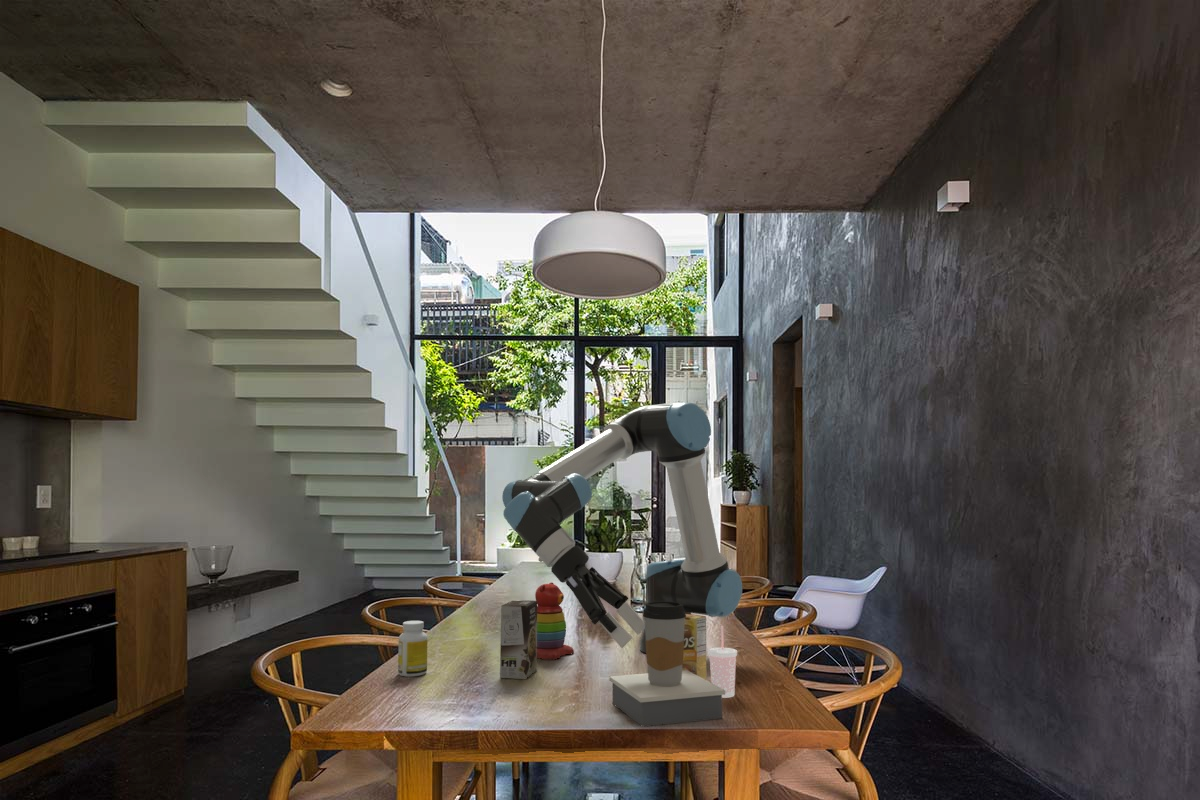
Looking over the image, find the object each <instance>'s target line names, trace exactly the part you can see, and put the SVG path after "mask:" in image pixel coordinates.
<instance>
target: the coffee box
mask: <svg viewBox="0 0 1200 800" xmlns="http://www.w3.org/2000/svg"><path fill="white" fill-rule="evenodd" d="M537 606H538V604H537V601H536V600H526V599H525V600H524V599H522V600H511V601H508V602H506V603H504V604H502V605H500V607H501V608H500V649H499V650H500V652H499V653H500V655H499V659H500V660H499V661H500V662H499V665H500V666H499V678H501V679H515V680H527V677H528V678H530V677H531V676H532V675H533V674H534V673H535V672H537V671H538V668H537V664H538V662H537V661H538V658H537ZM532 673H533V674H532Z"/></svg>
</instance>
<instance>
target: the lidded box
mask: <svg viewBox="0 0 1200 800" xmlns="http://www.w3.org/2000/svg"><path fill="white" fill-rule="evenodd" d="M608 679H609V681H610V683H612V704H613V705H614V706H615V705H616V706H617V707H616V706H615V707H616V708H618V709H619V708H620V709H621V710H622V711H621V710H620V709H619V710H620V711H621V712H623V713H624V712H625V713H626V714H625V713H624V714H625V715H626V716H628V717H629V718H631V719H632V720H633V721H634V722H636V723H637V724H639V726H641V727H643V728H644V727H651V725H653V726H661V725H662V724H663V725H670V724H671V725H672V724H680V723H681V724H682V723H690V722H699V721H708V720H709V721H710V720H719V719H723V698H722V695H725V690H724V689H722V688H720V687H718V686H716V685H714V684H713V683H711V682H710V681H709V680H707V679H706V680H705V679H703V678H701V677H699V676H697V675H695V674H693V673H692V672H690V671H688V670H682V680H681V681H680V684H679V685H677V686H672V687H660V686H654V685H652V684H650V681H649V680H648V672H647V673H636V674H635V673H634V674H623V675H622V674H621V675H611V676H609V678H608Z"/></svg>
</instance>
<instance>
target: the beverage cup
mask: <svg viewBox="0 0 1200 800" xmlns="http://www.w3.org/2000/svg"><path fill="white" fill-rule="evenodd" d="M720 639H721V640H720V641H721V642H720V643H721V646H720V647H712V648H708V649H707V655H708V656H709V666H710V667H709V668H710V681H711V683H713V684H714V685H716V686H718V687H720V688H722V689H724V690H725V695H722V699H726V698H727V699H728V698H733V697H734V696H735V693H736V692H735V690H736V688H735V687H736V668H737V667H736V665H737V663H736V662H737V656H738V650H737V649H735V648H732V647H724V625H721V626H720Z"/></svg>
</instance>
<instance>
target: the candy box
mask: <svg viewBox="0 0 1200 800" xmlns="http://www.w3.org/2000/svg"><path fill="white" fill-rule="evenodd" d="M682 670H688V671H690V672H692V673H693V674H695V675H697V676H699V677H701V678H703V679H705V680H707V615H701V614H698V615H697V614H693V613H691V614H686V617H685V625H684V651H683V664H682Z"/></svg>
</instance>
